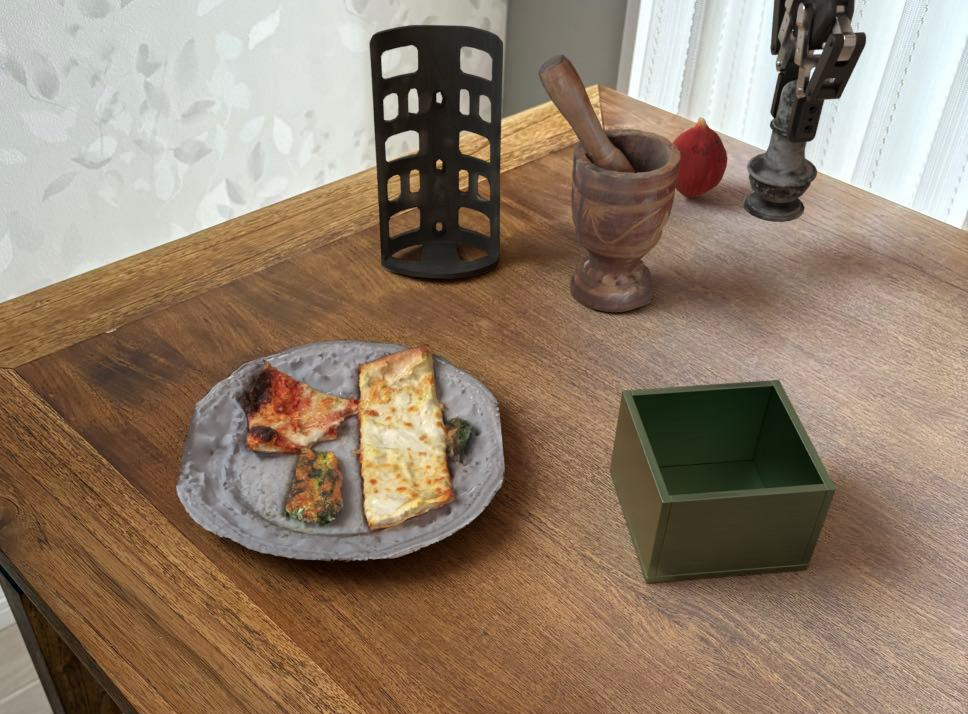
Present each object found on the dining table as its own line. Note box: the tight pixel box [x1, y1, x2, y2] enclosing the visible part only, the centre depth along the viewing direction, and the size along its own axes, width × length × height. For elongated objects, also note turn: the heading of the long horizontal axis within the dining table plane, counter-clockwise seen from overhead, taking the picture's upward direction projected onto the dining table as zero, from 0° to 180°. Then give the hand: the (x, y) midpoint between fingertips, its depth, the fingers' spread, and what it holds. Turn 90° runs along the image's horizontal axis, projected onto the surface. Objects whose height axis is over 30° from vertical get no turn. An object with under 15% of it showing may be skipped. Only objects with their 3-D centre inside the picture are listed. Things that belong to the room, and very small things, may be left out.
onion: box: [672, 117, 728, 199], centre depth 107 cm, size 6×6×8 cm
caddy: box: [609, 379, 837, 584], centre depth 76 cm, size 11×11×8 cm
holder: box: [369, 24, 504, 280], centre depth 96 cm, size 11×8×20 cm
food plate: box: [175, 338, 506, 563], centre depth 82 cm, size 25×23×4 cm
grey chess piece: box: [742, 79, 818, 223], centre depth 93 cm, size 6×6×12 cm
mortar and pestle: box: [538, 53, 681, 313], centre depth 91 cm, size 12×9×20 cm
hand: (791, 127), depth 93 cm, fingers closed on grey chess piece, 3 cm apart
